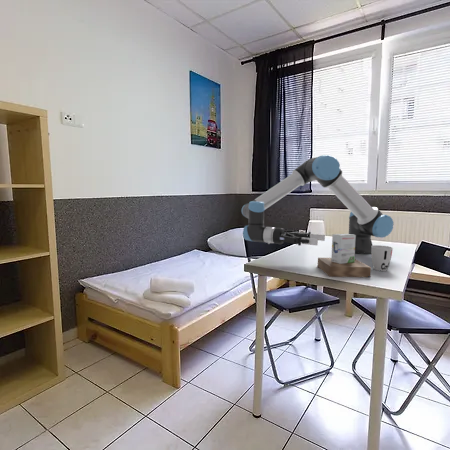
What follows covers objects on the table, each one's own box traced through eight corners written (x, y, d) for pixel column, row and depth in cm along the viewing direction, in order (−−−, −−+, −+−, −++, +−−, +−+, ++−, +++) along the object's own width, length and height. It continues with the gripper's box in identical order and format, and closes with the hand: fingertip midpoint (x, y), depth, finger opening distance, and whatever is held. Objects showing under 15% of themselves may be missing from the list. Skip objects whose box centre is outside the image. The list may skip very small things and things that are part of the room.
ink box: (339, 264, 121) (341, 235, 120) (330, 261, 126) (331, 233, 124) (355, 262, 124) (356, 234, 123) (345, 259, 129) (347, 232, 128)
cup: (382, 273, 124) (384, 249, 122) (365, 268, 131) (367, 246, 130) (395, 270, 127) (396, 247, 126) (377, 266, 134) (379, 244, 133)
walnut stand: (353, 266, 133) (353, 258, 133) (370, 277, 117) (371, 267, 117) (317, 266, 133) (318, 257, 133) (329, 276, 117) (330, 266, 117)
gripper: (283, 239, 150) (326, 244, 139) (264, 247, 129) (313, 253, 118) (284, 225, 149) (327, 228, 139) (264, 230, 128) (314, 234, 117)
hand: (321, 239), depth 128 cm, fingers open, 13 cm apart
